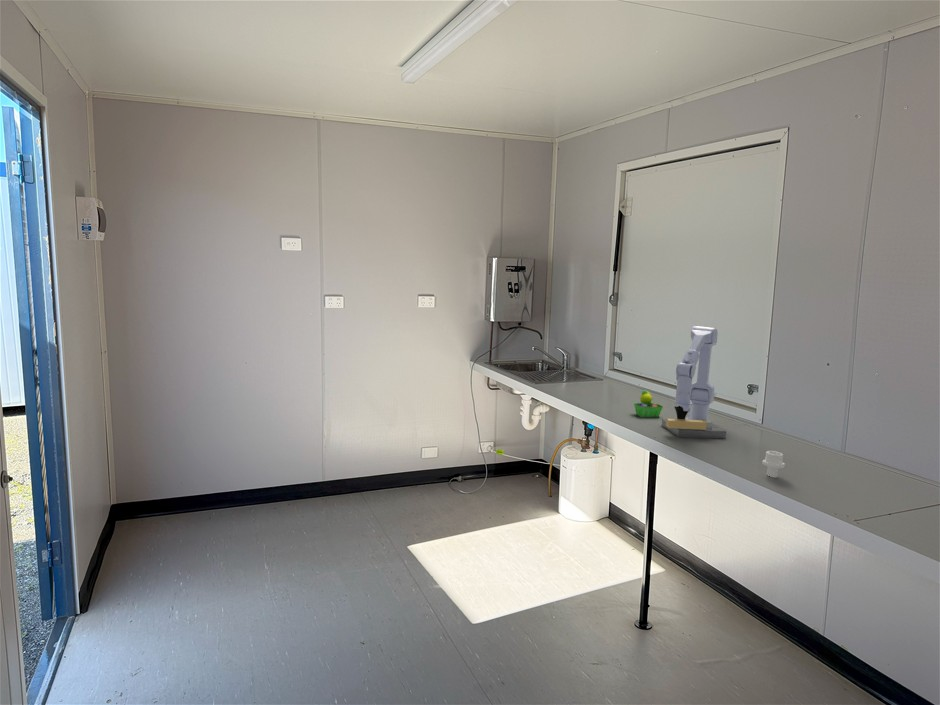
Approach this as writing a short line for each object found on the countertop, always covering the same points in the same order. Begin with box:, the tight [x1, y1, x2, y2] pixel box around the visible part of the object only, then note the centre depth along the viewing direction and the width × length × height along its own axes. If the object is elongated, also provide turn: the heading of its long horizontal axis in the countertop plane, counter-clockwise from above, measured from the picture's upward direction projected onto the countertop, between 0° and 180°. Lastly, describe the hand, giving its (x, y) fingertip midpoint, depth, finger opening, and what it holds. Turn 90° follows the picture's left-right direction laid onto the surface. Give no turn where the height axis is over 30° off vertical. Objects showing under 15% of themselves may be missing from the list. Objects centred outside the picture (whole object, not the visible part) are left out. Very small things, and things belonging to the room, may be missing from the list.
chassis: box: [661, 418, 727, 439], centre depth 266 cm, size 18×20×4 cm
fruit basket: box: [633, 389, 664, 418], centre depth 291 cm, size 11×9×11 cm
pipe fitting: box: [761, 450, 786, 478], centre depth 213 cm, size 6×7×8 cm
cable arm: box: [666, 418, 713, 430], centre depth 258 cm, size 18×4×3 cm, turn 89°
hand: (680, 424), depth 260 cm, fingers closed, pressing on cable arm
